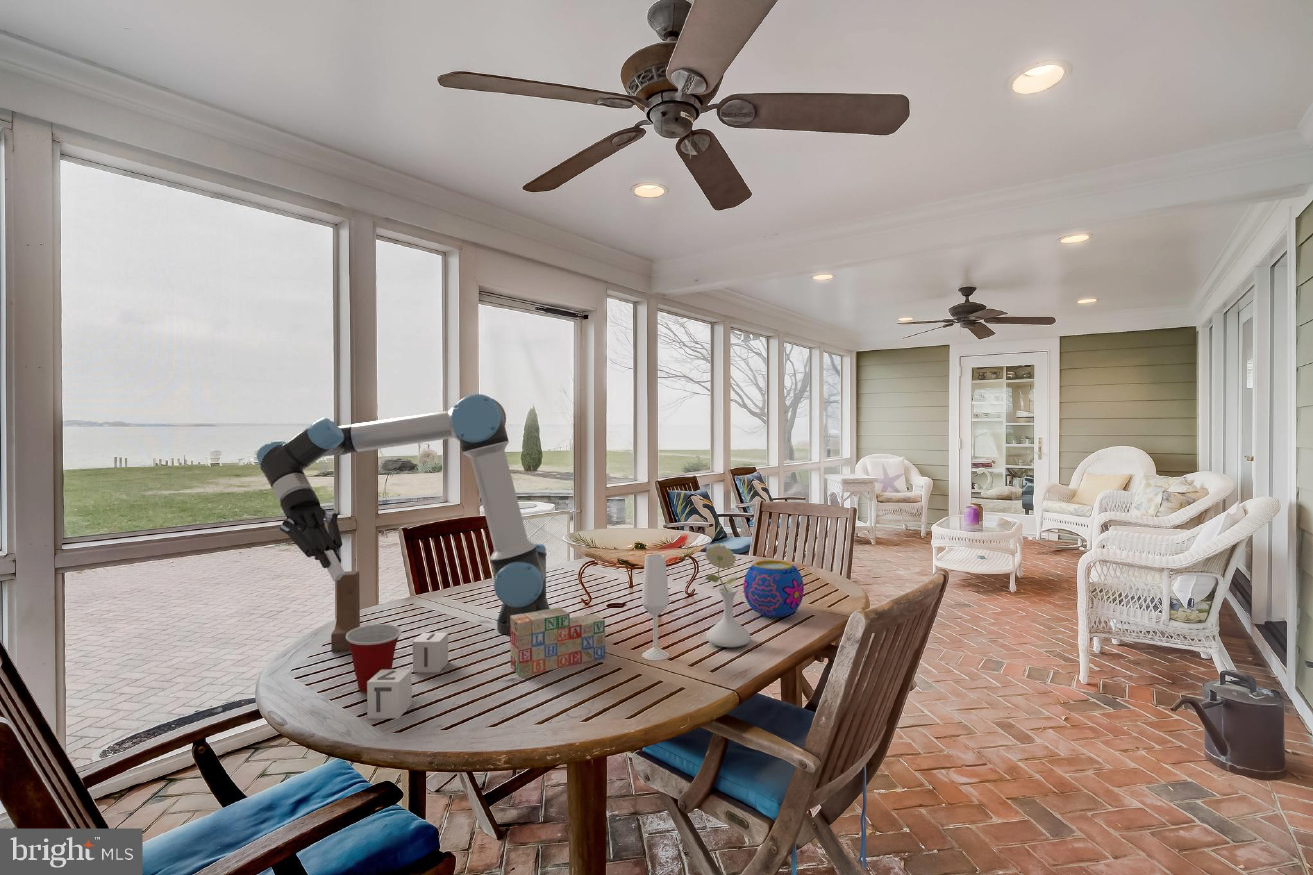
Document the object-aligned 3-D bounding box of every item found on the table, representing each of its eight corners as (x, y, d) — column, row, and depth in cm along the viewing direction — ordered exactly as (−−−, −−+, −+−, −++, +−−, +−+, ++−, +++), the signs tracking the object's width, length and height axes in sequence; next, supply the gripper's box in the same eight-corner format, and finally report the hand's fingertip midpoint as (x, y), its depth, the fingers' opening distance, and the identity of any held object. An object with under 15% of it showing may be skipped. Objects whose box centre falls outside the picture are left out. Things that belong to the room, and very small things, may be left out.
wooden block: (350, 650, 151) (349, 578, 151) (330, 652, 150) (330, 579, 150) (360, 638, 160) (359, 570, 159) (341, 639, 159) (341, 571, 159)
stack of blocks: (594, 650, 150) (594, 601, 150) (605, 658, 145) (605, 607, 145) (510, 667, 140) (509, 614, 139) (518, 677, 134) (517, 621, 134)
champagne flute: (655, 648, 151) (655, 552, 151) (675, 654, 147) (674, 556, 146) (636, 655, 147) (635, 556, 146) (655, 662, 142) (654, 560, 142)
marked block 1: (448, 662, 143) (448, 632, 143) (439, 672, 137) (438, 641, 137) (422, 662, 143) (422, 632, 143) (412, 672, 137) (412, 641, 137)
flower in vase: (759, 642, 155) (759, 545, 154) (733, 655, 146) (732, 551, 146) (718, 631, 163) (718, 539, 163) (691, 642, 155) (691, 545, 155)
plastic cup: (365, 703, 122) (364, 643, 121) (335, 690, 127) (334, 633, 127) (412, 683, 131) (412, 628, 130) (383, 673, 137) (382, 620, 136)
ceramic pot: (812, 611, 181) (812, 561, 181) (793, 628, 166) (792, 573, 166) (757, 603, 190) (756, 555, 190) (734, 618, 175) (733, 566, 175)
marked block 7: (411, 704, 121) (411, 668, 121) (398, 718, 115) (398, 681, 115) (381, 704, 121) (381, 668, 121) (367, 718, 115) (366, 681, 115)
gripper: (317, 503, 151) (359, 580, 143) (261, 510, 140) (303, 594, 132) (329, 484, 148) (372, 560, 140) (273, 489, 137) (316, 573, 129)
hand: (339, 576), depth 136 cm, fingers closed
